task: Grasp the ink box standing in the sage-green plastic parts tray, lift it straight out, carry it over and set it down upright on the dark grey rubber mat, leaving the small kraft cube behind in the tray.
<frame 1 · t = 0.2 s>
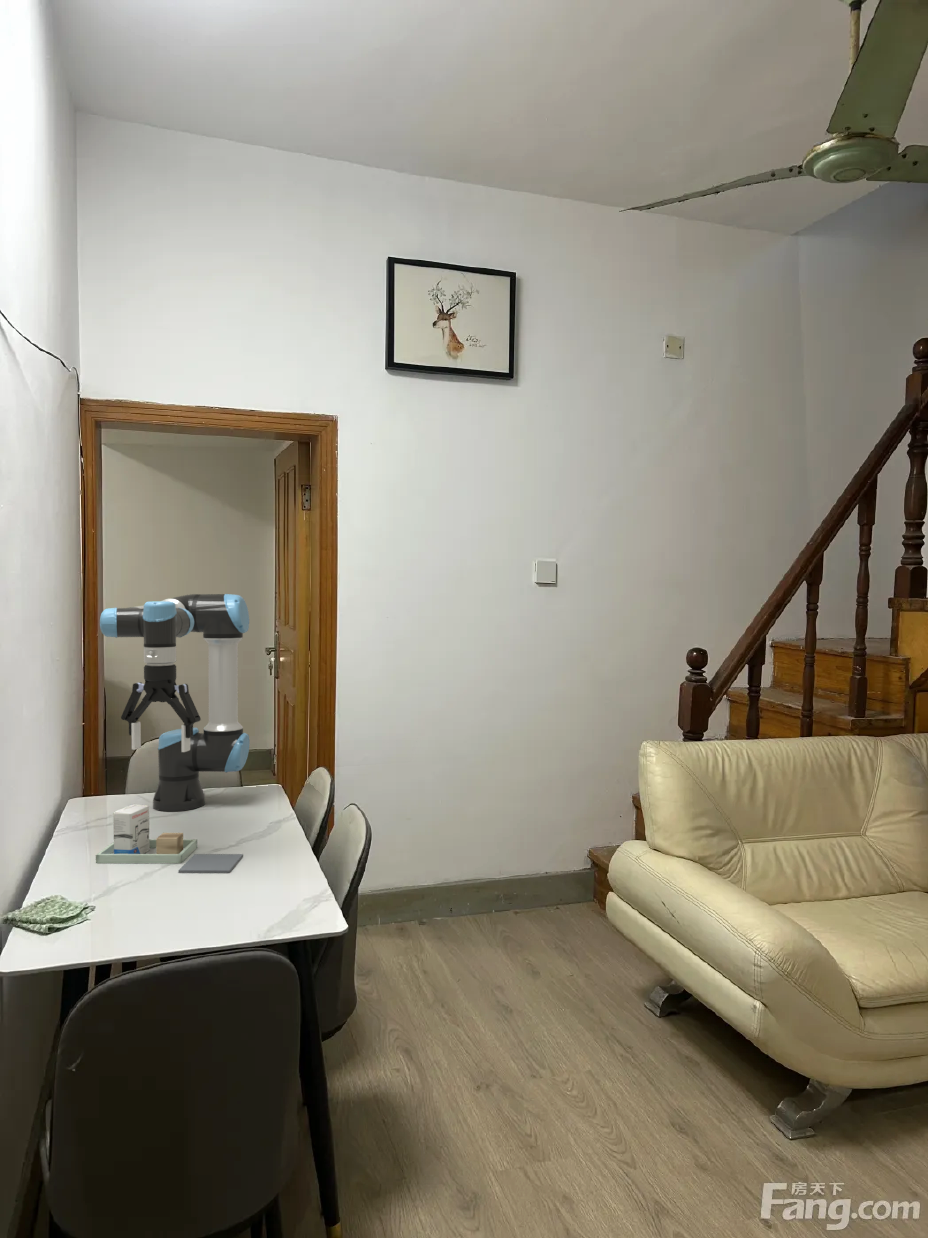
hand: (160, 750, 206), 27 cm above the table, fingers open, 13 cm apart
rubber mat: (211, 864, 202), on the table
ink box: (132, 855, 209), resting in parts tray
kraft cube: (170, 855, 209), resting in parts tray
parts tray: (148, 854, 209), on the table
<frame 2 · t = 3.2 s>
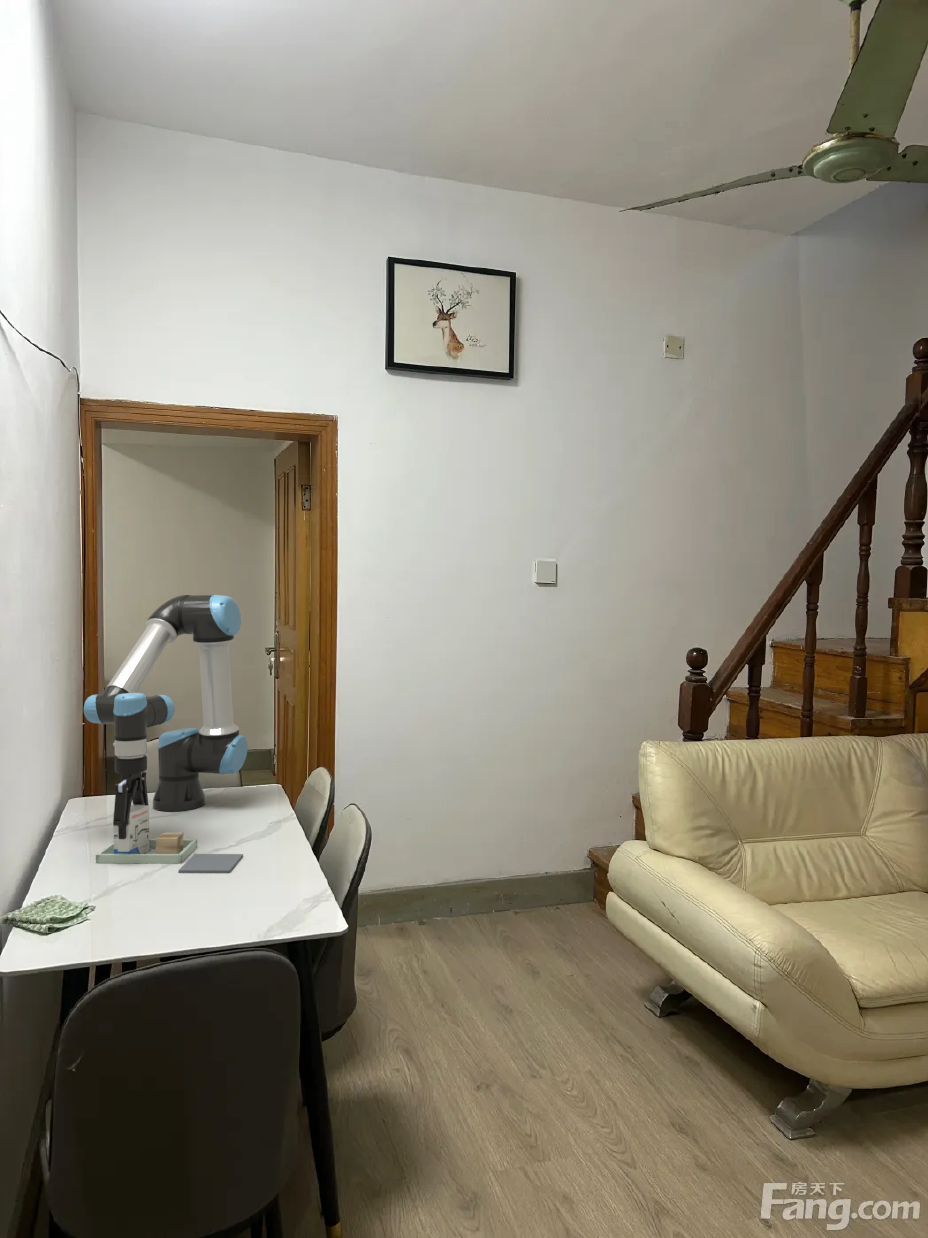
hand: (131, 844, 209), 3 cm above the table, fingers closed on ink box, 9 cm apart
ink box: (131, 855, 209), resting in parts tray, touching gripper
everything else where it was.
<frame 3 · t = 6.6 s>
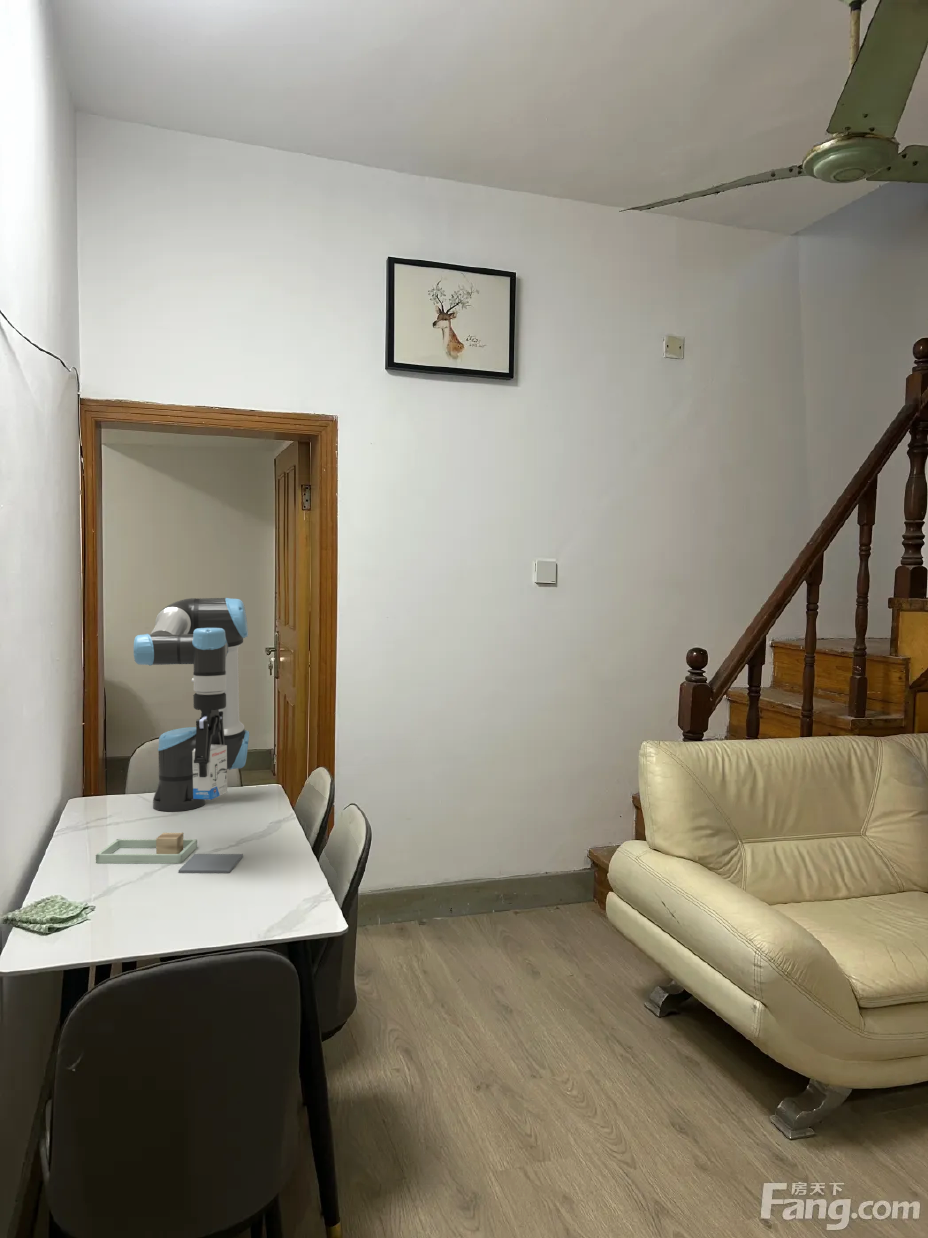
hand: (210, 785, 201), 19 cm above the table, fingers closed on ink box, 9 cm apart
ink box: (210, 796, 201), point 17 cm above the table, touching gripper
everything else where it was.
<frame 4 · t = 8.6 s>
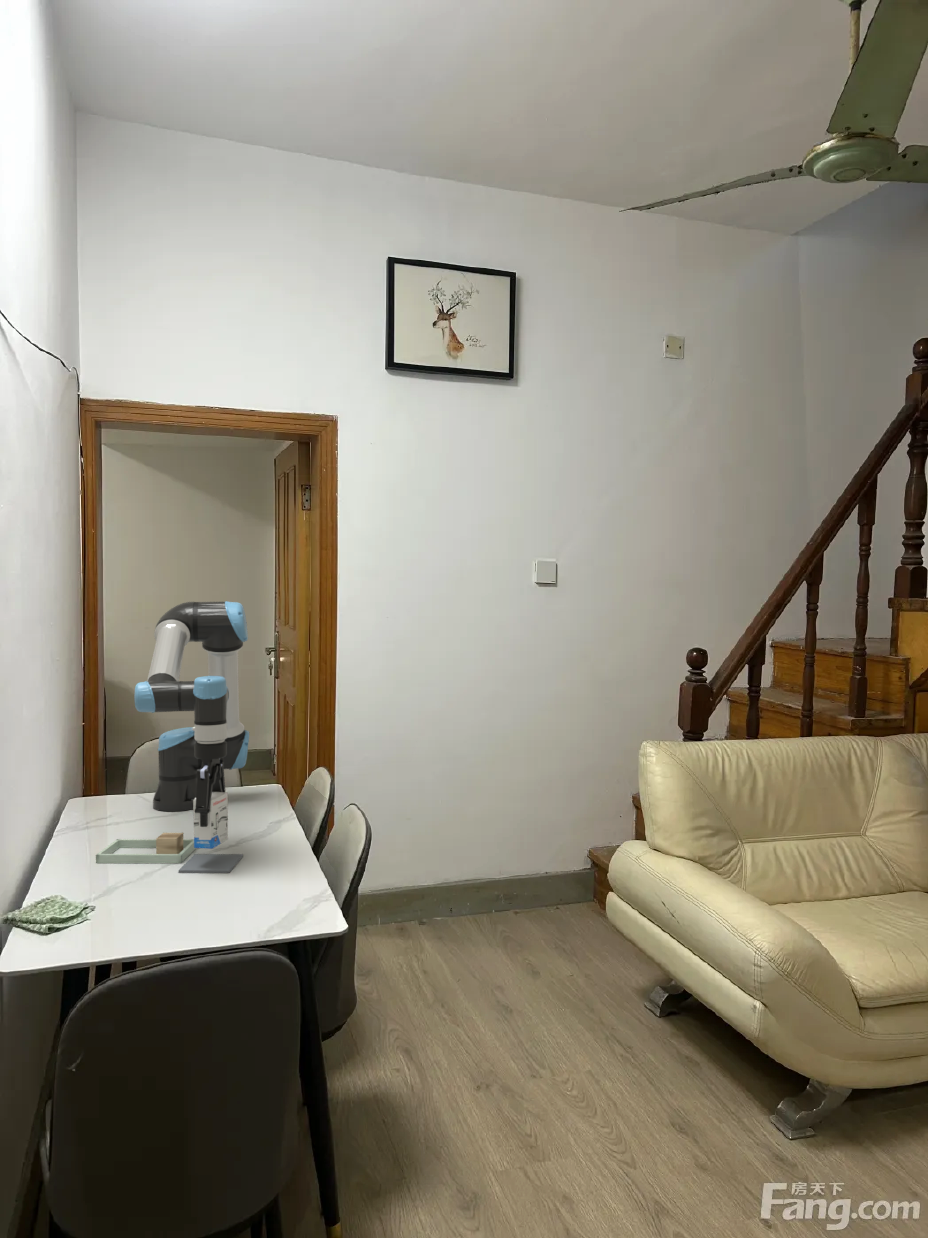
hand: (211, 833, 202), 8 cm above the table, fingers closed on ink box, 9 cm apart
ink box: (211, 844, 202), point 5 cm above the table, touching gripper
everything else where it was.
when the fingers open (4 cm above the table, at t = 10.3 s): ink box stays where it is, resting on rubber mat.
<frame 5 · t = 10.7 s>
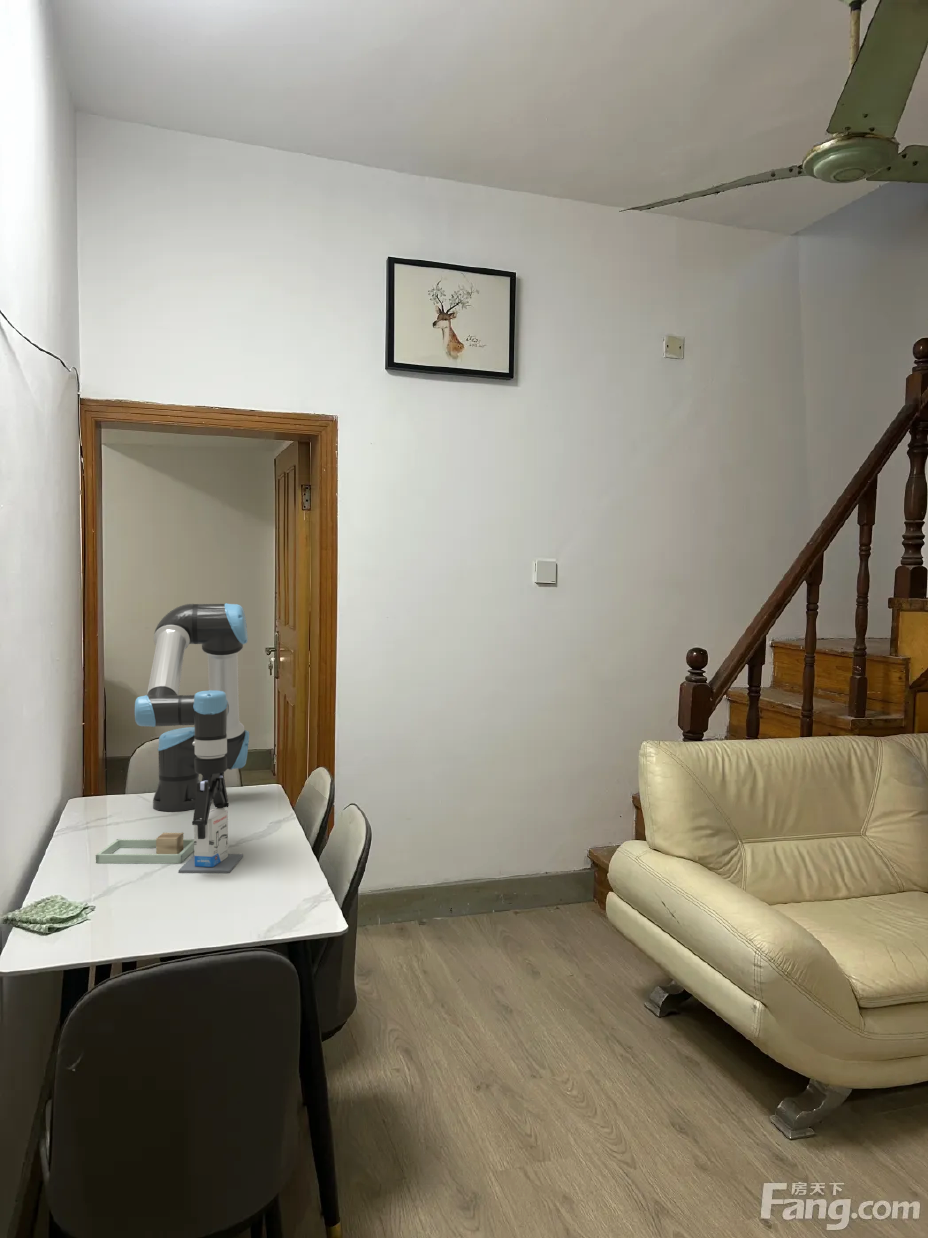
hand: (211, 842, 202), 5 cm above the table, fingers open, 13 cm apart
ink box: (211, 862, 202), resting on rubber mat
everything else where it was.
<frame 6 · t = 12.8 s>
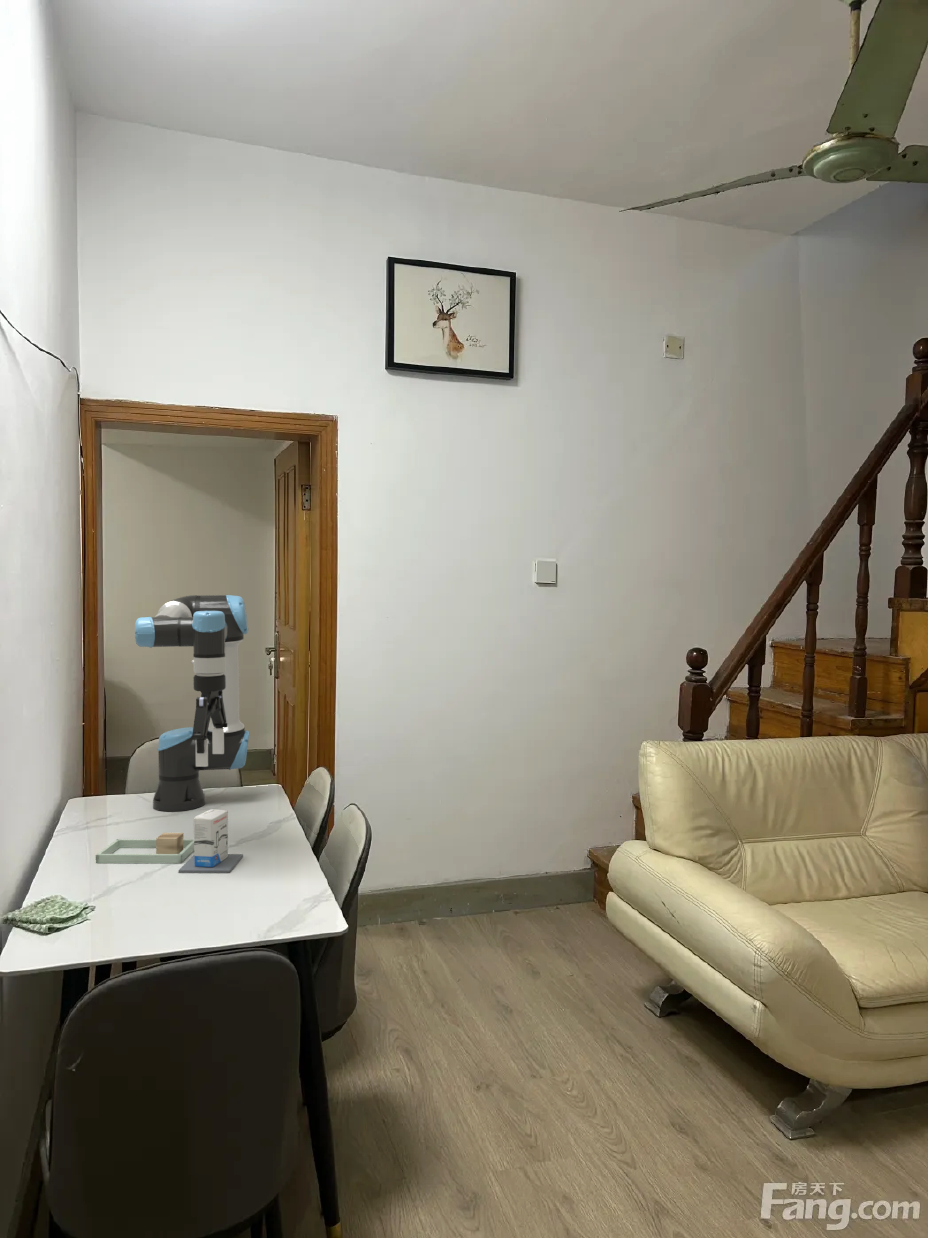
hand: (210, 760, 206), 25 cm above the table, fingers open, 13 cm apart
nothing on the table moved.
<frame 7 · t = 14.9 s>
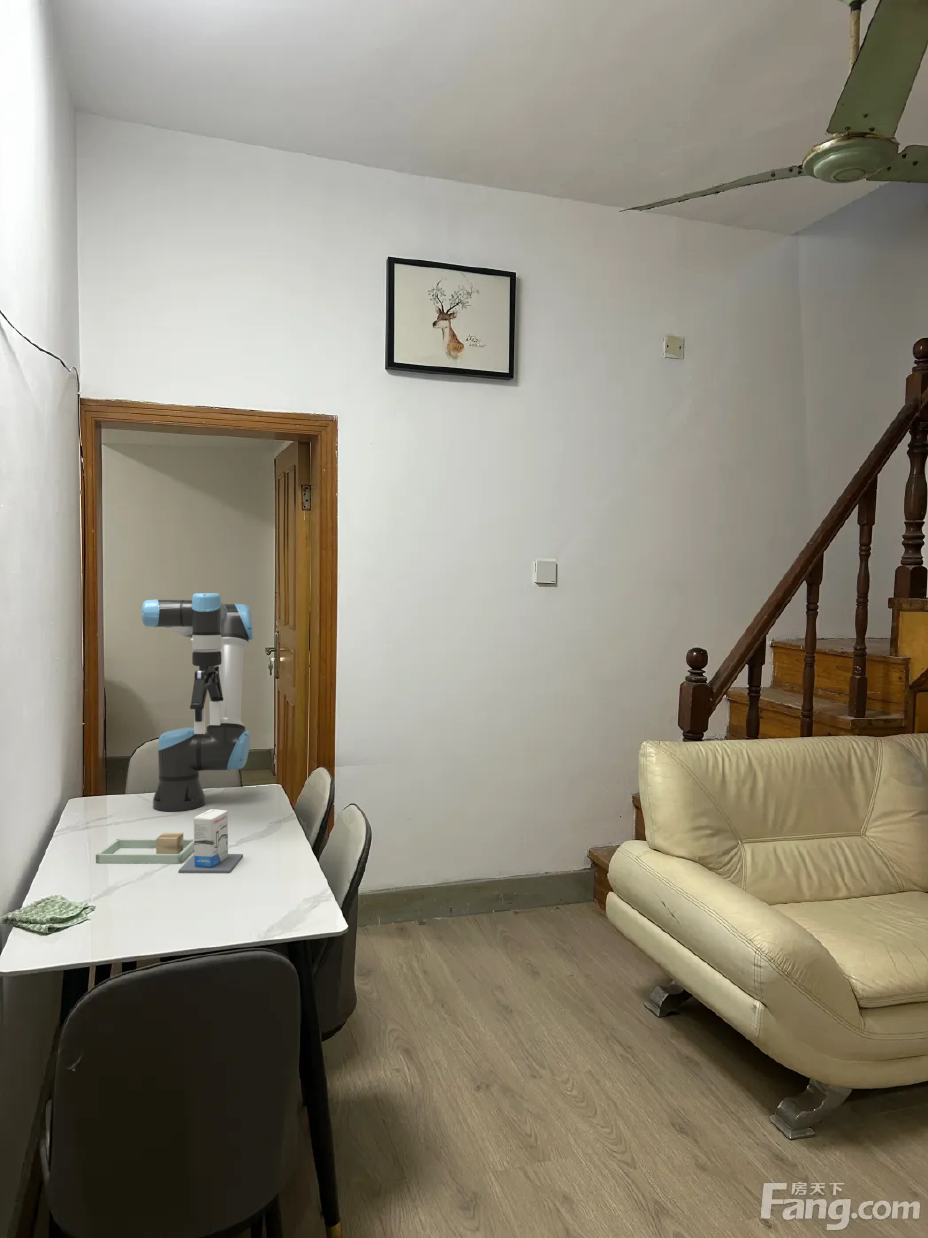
hand: (207, 729, 225), 29 cm above the table, fingers open, 13 cm apart
nothing on the table moved.
at the end: ink box inside the target area on the rubber mat (0.2 cm from its centre), point 0.4 cm above the rubber mat's base; ink box tilted 0°; the gripper is holding nothing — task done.
